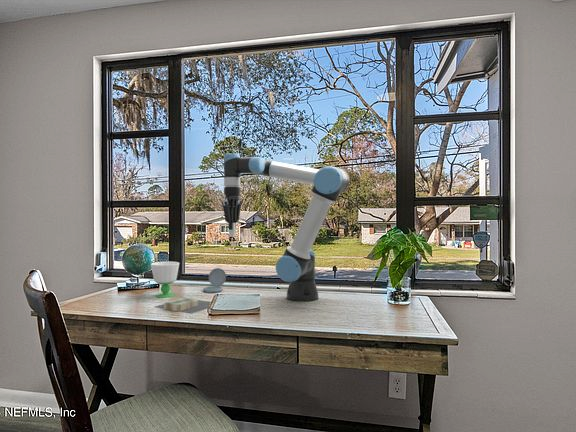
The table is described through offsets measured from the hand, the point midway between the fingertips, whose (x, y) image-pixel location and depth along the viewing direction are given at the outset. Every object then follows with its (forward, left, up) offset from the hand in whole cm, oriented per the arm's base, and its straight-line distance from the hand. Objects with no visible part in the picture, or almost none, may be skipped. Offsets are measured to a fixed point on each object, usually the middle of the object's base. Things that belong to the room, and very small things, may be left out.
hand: (232, 236), depth 205 cm
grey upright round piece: (+19, -8, -30) cm, 36 cm away
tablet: (+6, +21, -28) cm, 35 cm away
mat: (+6, +23, -29) cm, 38 cm away
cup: (+32, +12, -30) cm, 45 cm away
